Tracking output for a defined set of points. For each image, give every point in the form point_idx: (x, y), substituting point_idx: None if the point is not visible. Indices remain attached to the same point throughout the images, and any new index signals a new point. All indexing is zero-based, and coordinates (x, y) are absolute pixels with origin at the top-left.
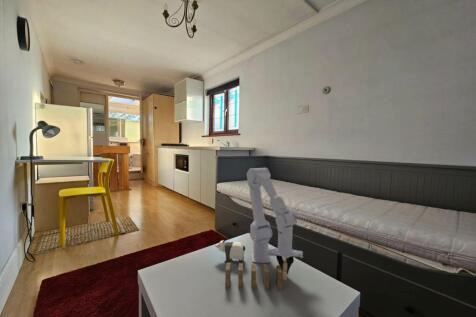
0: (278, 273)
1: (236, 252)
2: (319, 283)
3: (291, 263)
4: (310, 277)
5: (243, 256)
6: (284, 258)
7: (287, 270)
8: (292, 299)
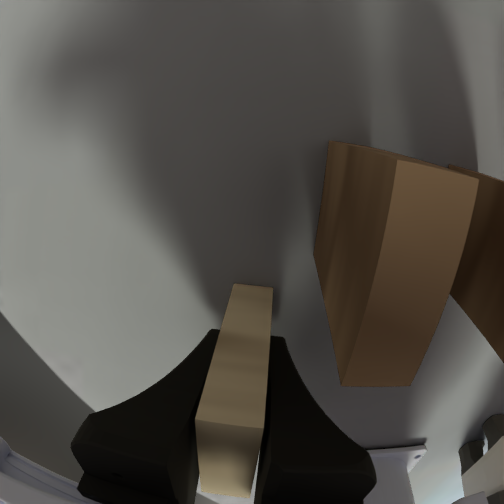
0: (456, 172)
1: None
2: (4, 233)
3: (127, 406)
4: (45, 298)
5: (487, 460)
6: (216, 485)
7: (208, 352)
8: (254, 17)
